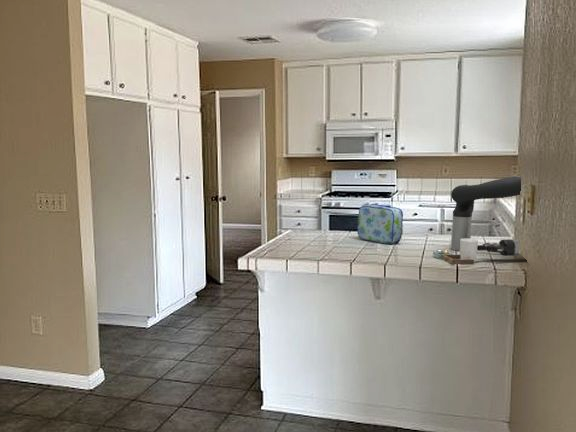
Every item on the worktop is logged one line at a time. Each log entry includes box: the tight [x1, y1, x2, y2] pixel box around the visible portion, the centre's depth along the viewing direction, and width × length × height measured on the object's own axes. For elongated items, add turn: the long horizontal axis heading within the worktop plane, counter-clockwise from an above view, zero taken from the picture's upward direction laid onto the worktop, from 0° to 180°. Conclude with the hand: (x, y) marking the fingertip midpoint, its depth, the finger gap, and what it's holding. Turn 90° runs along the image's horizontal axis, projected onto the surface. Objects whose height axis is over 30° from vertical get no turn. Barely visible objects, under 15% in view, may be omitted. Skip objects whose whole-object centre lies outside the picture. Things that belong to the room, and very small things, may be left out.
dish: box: [432, 251, 454, 260], centre depth 248 cm, size 7×7×2 cm
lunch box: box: [357, 203, 404, 245], centre depth 288 cm, size 26×11×21 cm, turn 42°
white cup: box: [459, 238, 479, 263], centre depth 239 cm, size 8×8×10 cm
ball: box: [435, 249, 444, 254], centre depth 248 cm, size 3×3×3 cm
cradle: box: [441, 254, 475, 266], centre depth 239 cm, size 12×10×2 cm
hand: (476, 247), depth 239 cm, fingers closed
